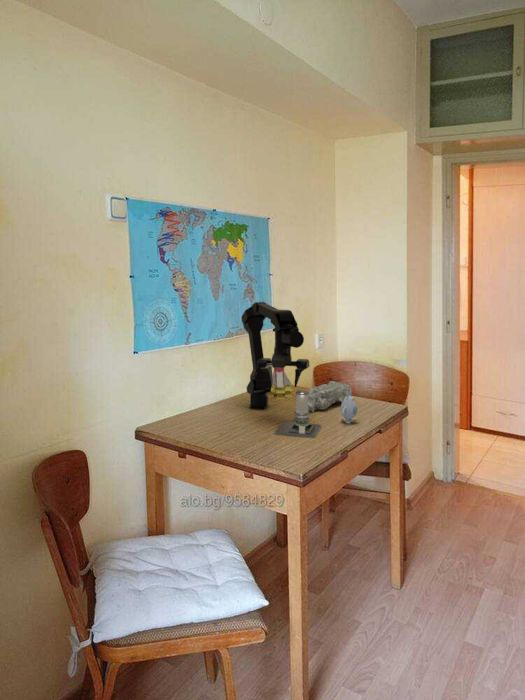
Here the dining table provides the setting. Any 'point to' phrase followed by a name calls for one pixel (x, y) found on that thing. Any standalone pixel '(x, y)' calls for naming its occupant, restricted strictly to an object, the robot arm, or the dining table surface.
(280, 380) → the toy rocket
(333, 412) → the dining table surface
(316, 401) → the stone
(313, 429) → the stand base
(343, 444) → the dining table surface
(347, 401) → the toy figure
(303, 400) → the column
